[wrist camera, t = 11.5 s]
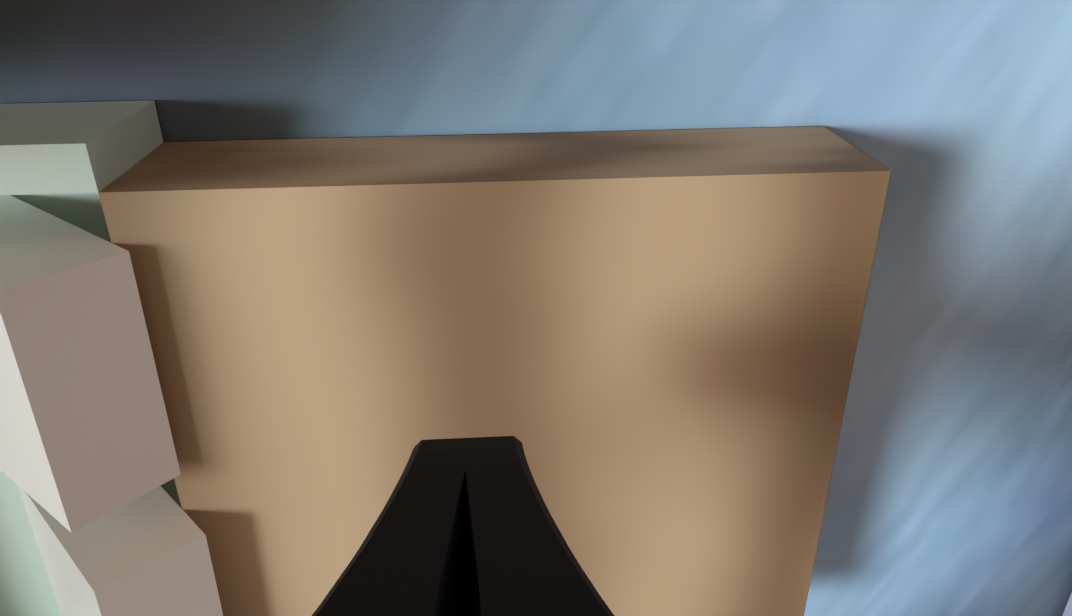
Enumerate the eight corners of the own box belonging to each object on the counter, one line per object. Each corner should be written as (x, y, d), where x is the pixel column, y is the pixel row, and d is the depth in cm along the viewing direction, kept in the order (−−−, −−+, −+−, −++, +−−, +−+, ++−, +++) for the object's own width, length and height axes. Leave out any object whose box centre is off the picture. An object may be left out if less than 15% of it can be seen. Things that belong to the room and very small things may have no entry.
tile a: (205, 534, 15) (93, 592, 14) (240, 696, 17) (146, 758, 16) (113, 433, 18) (12, 473, 17) (152, 582, 20) (66, 628, 19)
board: (823, 126, 16) (890, 171, 14) (755, 570, 22) (793, 664, 19) (163, 142, 16) (98, 192, 13) (263, 596, 21) (232, 697, 18)
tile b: (128, 250, 13) (-6, 293, 12) (181, 474, 15) (71, 533, 14) (6, 192, 15) (-118, 222, 14) (65, 392, 18) (-38, 434, 16)
